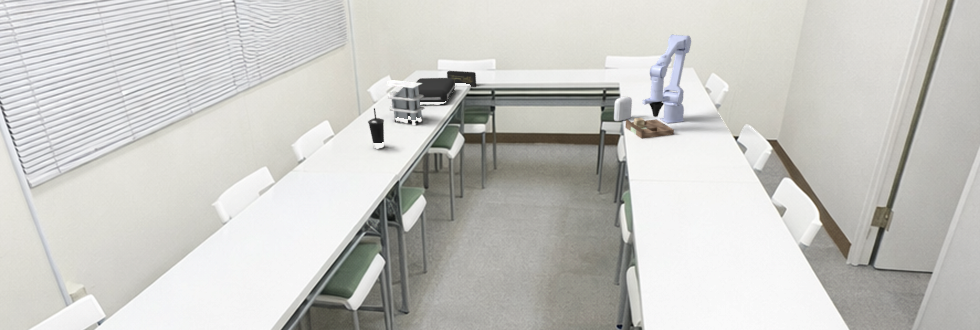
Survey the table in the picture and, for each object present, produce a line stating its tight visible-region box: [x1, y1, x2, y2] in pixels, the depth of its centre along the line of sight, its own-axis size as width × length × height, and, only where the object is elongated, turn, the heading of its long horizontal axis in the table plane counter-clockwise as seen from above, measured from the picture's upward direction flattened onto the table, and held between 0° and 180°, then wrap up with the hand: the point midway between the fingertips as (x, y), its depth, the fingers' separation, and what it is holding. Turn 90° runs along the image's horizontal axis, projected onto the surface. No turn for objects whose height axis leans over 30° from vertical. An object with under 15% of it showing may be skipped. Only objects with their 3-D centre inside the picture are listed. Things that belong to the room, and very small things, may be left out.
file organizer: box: [386, 79, 425, 120], centre depth 317 cm, size 26×35×22 cm
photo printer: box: [613, 95, 633, 122], centre depth 304 cm, size 10×4×12 cm, turn 123°
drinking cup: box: [367, 107, 385, 144], centre depth 278 cm, size 8×8×20 cm
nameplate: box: [446, 70, 477, 88], centre depth 389 cm, size 21×2×10 cm, turn 65°
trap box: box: [625, 119, 675, 139], centre depth 286 cm, size 17×18×4 cm
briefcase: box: [415, 77, 456, 102], centre depth 363 cm, size 36×32×10 cm
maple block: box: [633, 117, 646, 128], centre depth 285 cm, size 4×4×4 cm
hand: (655, 116), depth 284 cm, fingers closed
